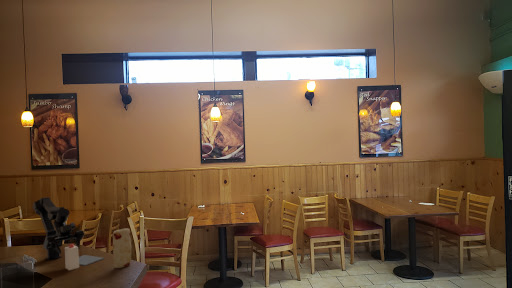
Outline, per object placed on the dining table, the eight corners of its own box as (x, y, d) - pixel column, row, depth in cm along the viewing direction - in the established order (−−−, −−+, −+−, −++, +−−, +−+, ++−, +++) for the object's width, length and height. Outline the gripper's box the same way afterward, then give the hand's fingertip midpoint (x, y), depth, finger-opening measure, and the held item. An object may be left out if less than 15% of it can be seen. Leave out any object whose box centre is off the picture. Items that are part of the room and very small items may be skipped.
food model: (117, 270, 189) (115, 231, 189) (111, 268, 194) (109, 229, 193) (134, 265, 197) (133, 227, 196) (128, 262, 201) (126, 226, 201)
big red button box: (65, 268, 196) (64, 244, 196) (75, 265, 200) (74, 242, 200) (69, 270, 193) (68, 246, 193) (79, 267, 197) (78, 244, 196)
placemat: (65, 262, 206) (65, 261, 206) (84, 256, 217) (84, 254, 217) (85, 265, 199) (85, 264, 199) (103, 258, 210) (103, 257, 210)
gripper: (45, 222, 195) (54, 246, 187) (82, 215, 208) (91, 238, 201) (41, 235, 200) (49, 259, 193) (77, 227, 214) (86, 250, 206)
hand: (70, 251), depth 198 cm, fingers open, 9 cm apart
